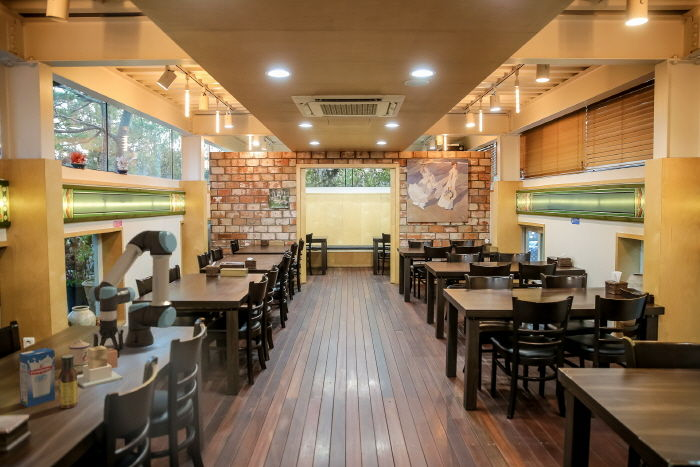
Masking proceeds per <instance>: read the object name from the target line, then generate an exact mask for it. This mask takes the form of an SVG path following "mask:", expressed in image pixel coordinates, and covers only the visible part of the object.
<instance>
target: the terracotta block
mask: <svg viewBox="0 0 700 467" xmlns="http://www.w3.org/2000/svg"><path fill="white" fill-rule="evenodd" d="M117 360H118V358H117V350H115V348H114V347H113V348H111V347H110V348H107V363H108V364H109V365H111V366H112V369H114V368H115V369H116V368H118V365H117Z"/></svg>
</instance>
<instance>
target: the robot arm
mask: <svg viewBox="0 0 700 467" xmlns="http://www.w3.org/2000/svg"><path fill="white" fill-rule="evenodd" d="M177 241H178V240H177V238H176V236H175V234H174V233H173V232H172V231H169V230H168V231H167V230H148V229H147V230H143V231H141V232H139V233H137V234H136V235H134V236H133V237H132V238H131V239H130V240H129V241H128V243H127V244H126V245H125V250H124V251H123V252H122V254H121V255H120V257H119V258H118V259H117V261H116V262H115V263H114V265H113V266H112V267H111V268H110V270H109V271H108V272H107V274H106V275H105V276H104V278H103V279H102V280H101V282H100V283H99V284H98V285H95V286H94V285H93V286H92V287H91V288H90V289H89V291H88V298H89V299H90V301H92V302H98V303H99V330H98V331H97V332H96V333H95V332H94V333H92V337H93V346H92V347H97V346H104V347H105V344H106V341H107V340H108V339H111V342H112V345H113V349H115V350H117V366H118V362H119V361H118V359H119V358H120V352H121V351H122V350H124V346H125V347H128V348H142V347H143V348H144V347H147V346H152V345H154V342H155V338H154V335H153V333H152V331H151V328H159V329H168V328H170V327H171V326H172V325H173V324H174V322H175V320H176V317H177V310H176V309H175V307H173V306H172V304H173V303H172V301H171V300H170V257H172V256H173V252H175V251H176V249H177V246H178V242H177ZM145 252H149V256H150V257H151V258H152V293H151V294H152V297H151V300H152V301H151V302H149V301H148V302H147V301H146V302H138V303H133V304H130V305H129V306H128V311H127V316H128V317H127V320H128V321H127V324H128V325H127V327H128V330H127V333H126V337H125V340H124V335H123V334H124V330H123V329H122V328H118V319H117V318H118V305H122V304H127V303H130V302H132V301H134V300H135V299H136V291H135V289H134V288H132V287H130V286H129V287H128V286H127V287H126V286H125V287H118V286H119V284H120V283H121V281H122V280H123V279H124V278H125V276H126V274H127V273H128V271H129V270H130V269H131V268H132V266H133V265H134V263H135V262H136V260H137V259H138V258H139V257H141V256H143V255H144V253H145ZM116 334H118V335H117V337H118V339H117V338H116ZM99 337H100V343H99ZM117 340H118V341H117Z"/></svg>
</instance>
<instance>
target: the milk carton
mask: <svg viewBox="0 0 700 467" xmlns="http://www.w3.org/2000/svg"><path fill="white" fill-rule="evenodd" d="M55 356H56V355H55V349H51V348H49V347H44V348H43V347H42V348H39V349H35V350H29V351H25V352H20V353H19V404H20V405H21V406H23V405H24V407H26V408H28V407H29V408H32V407H35V406H38V404H39V405H42V404H45V403H48V402H52V401H55V400H56V390H55V389H56V385H55V384H56V381H55V379H56V372H55V371H56V370H55V368H56V364H55V363H56V361H55ZM54 399H55V400H54ZM51 400H52V401H51ZM47 401H48V402H47ZM44 402H45V403H44ZM41 403H42V404H41ZM31 406H32V407H31Z"/></svg>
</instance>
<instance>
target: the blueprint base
mask: <svg viewBox="0 0 700 467" xmlns="http://www.w3.org/2000/svg"><path fill="white" fill-rule="evenodd" d="M121 380H124V376H122V375H120V374H118V372H116V371H114V370H113V368H112V366H111V365H109V364H108V363H107V366H104V367H99V368H95V369H92V368H91V367H89V366H88V364H84V365H82V374H77V385H79V386H81V387H82V388H84V389H86V388H87V389H88V388H91V387H95V386H100V385H104V384H108V383H113V382H116V381H121Z"/></svg>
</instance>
